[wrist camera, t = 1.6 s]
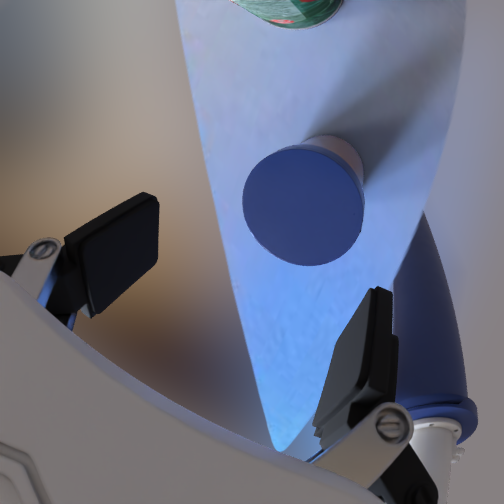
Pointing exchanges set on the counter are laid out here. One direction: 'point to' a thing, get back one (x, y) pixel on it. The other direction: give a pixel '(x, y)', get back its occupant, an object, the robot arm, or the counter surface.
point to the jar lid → (304, 205)
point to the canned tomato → (292, 12)
